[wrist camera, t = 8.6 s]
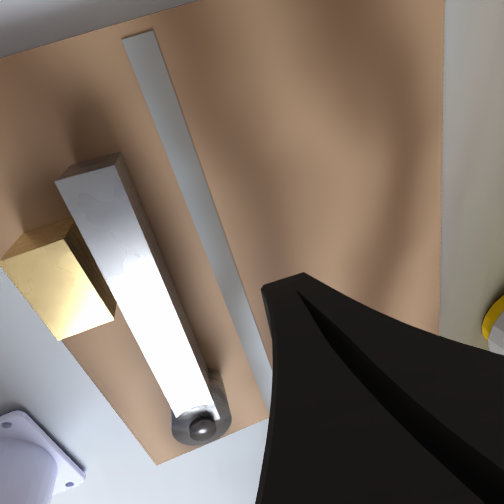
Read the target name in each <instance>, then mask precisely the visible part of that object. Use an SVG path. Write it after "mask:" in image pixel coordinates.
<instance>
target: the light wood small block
mask: <svg viewBox="0 0 504 504" xmlns="http://www.w3.org/2000/svg"><path fill="white" fill-rule="evenodd" d="M0 266H1V268H2V269H3V270H4V271H5V273H6V274H7V275H8V277H9V278H10V279H11V281H12V282H13V283H14V284H15V286H16V287H17V288H18V290H19V291H20V292H21V294H22V295H23V296H24V297H25V299H26V300H27V301H28V303H29V304H30V305H31V307H32V308H33V309H34V310H35V312H36V313H37V314H38V316H39V317H40V318H41V319H42V321H43V322H44V323H45V325H46V326H47V327H48V329H49V330H50V331H51V332H52V334H53V335H54V336H55V338H56V339H57V340H58V341H59V340H61V339H64V338H67V337H69V336H72V335H75V334H77V333H80V332H83V331H85V330H88V329H91V328H93V327H96V326H98V325H101V324H104V323H106V322H109V321H112V320H114V317H115V311H116V305H117V302H116V300H115V298H114V296H113V294H112V292H111V290H110V288H109V286H108V284H107V282H106V281H105V279H104V277H103V275H102V273H101V271H100V269H99V267H98V265H97V263H96V261H95V259H94V257H93V255H92V254H91V252H90V250H89V248H88V246H87V244H86V242H85V240H84V238H83V236H82V234H81V232H80V230H79V228H78V226H77V225H76V223H75V221H74V219H73V217H72V216H69V217H66V218H64V219H61V220H58V221H55V222H52V223H49V224H46V225H43V226H40V227H37V228H34V229H31V230H29V231H26V232H23V233H22V235H21V236H20V237H19V238H18V239H17V240H16V241H15V243H14V244H13V245H12V246H11V247H10V248H9V250H8V251H7V252H6V253H5V254H4V255H3V256H2V258H1V259H0Z"/></svg>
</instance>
